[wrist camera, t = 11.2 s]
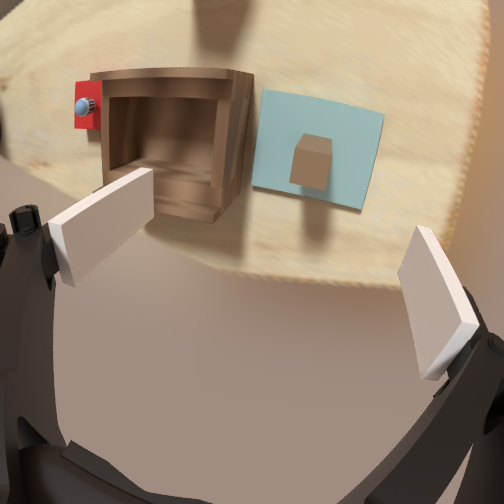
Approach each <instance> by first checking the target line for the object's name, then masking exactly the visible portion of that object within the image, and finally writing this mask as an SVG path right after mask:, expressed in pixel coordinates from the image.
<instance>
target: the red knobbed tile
mask: <svg viewBox="0 0 504 504" xmlns="http://www.w3.org/2000/svg"><path fill="white" fill-rule="evenodd" d="M101 93H102V80H101V81H91V82H90V80H88V81H79V82H76V85H75V128H77V129H98V130H101Z"/></svg>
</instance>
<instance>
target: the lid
mask: <svg viewBox="0 0 504 504" xmlns="http://www.w3.org/2000/svg"><path fill="white" fill-rule="evenodd" d="M384 115H385V114H382V113H378V112H375V111H371V110H367V109H364V108H360V107H356V106H352V105H348V104H343V103H339V102H334V101H330V100H325V99H320V98H315V97H310V96H304V95H299V94H293V93H287V92H280V91H273V90H266V89H263V94H262V101H261V109H260V117H259V124H258V132H257V140H256V148H255V156H254V164H253V172H252V180H251V185H253V186H258V187H263V188H268V189H273V190H278V191H283V192H288V193H292V194H297V195H302V196H306V197H311V198H315V199H319V200H324V201H328V202H332V203H336V204H341V205H345V206H349V207H353V208H357V209H361V210H362V206H363V202H364V199H365V195H366V191H367V188H368V184H369V180H370V176H371V172H372V168H373V164H374V160H375V156H376V152H377V147H378V143H379V138H380V134H381V129H382V124H383V120H384Z"/></svg>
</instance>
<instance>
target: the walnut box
mask: <svg viewBox="0 0 504 504" xmlns="http://www.w3.org/2000/svg"><path fill="white" fill-rule="evenodd" d="M253 75H254V74H250V73H245V72H240V71H235V70H230V69H219V68H188V67H175V68H143V69H128V70H116V71H107V72H98V73H90V82H91V81H101V80H102V93H101V151H102V172H103V186H102V187H100V188H99V189H97V190H95V191H93V193H95V192H96V191H98V190H100V189H102V188H103V187H105V186H107V185H109V184H111V183H112V182H114V181H116V180H118V179H120V178H122V177H123V176H125V175H127V174H129V173H131V172H133V171H135V170H137V169H139V168H141V167H142V168H149V169H153V200H154V211H155V212H160V213H165V214H170V215H174V216H179V217H184V218H189V219H193V220H198V221H203V222H207V223H212V224H213V223H214V222H215V221H216V220H217V219H218V217H219V216H220V215H221V214H222V213H223V211H224V210H225V209H226V208H227V207H228V206H229V204H230V203H231V202H232V201H233V200H234V199H235V198H236V196H237V195H238V194H239V192H240V183H241V174H242V165H243V156H244V148H245V139H246V131H247V122H248V114H249V106H250V98H251V90H252V82H253Z"/></svg>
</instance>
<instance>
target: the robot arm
mask: <svg viewBox="0 0 504 504" xmlns="http://www.w3.org/2000/svg"><path fill="white" fill-rule="evenodd" d="M0 136H1V132H0ZM9 217H10V221H11V226H12V230H13V235H9V234H7V232H6V228H5V225H4V224H2V223H0V504H212V503H208V502H205V501H202V500H199V499H191V498H182V497H175V496H168V495H161V494H155V493H150V492H146V491H144V490H143V489H141V488H140V487H138V486H137V485H136V484H134V483H133V482H132V481H130V480H129V479H128V478H127V477H125V476H124V475H123V474H122V473H121V472H119V471H118V470H117V469H116V468H115V467H113V466H112V465H111V464H110V463H109V462H108V461H106V460H104V459H102V458H101V457H99V456H97V455H95V454H94V453H92V452H90V451H88V450H87V449H85V448H83V447H82V446H80V445H78V444H77V443H75V442H73V441H72V440H71V441H70V443H69V444H68V446H66V443H65V440H64V438H63V436H62V434H61V431H60V429H59V426H58V421H57V414H56V403H55V390H54V372H53V318H54V300H55V288H56V281H55V277H54V274H56V273H57V272H58V271H60V274H61V278H62V281H63V283H66V284H68V285H70V286H72V287H75V288H76V287H77V286H78V285H79V284H80V283H81V282H82V281H83V280H84V279H85V278H86V277H87V276H88V275H89V274H90V273H91V272H93V271H94V269H96V268H97V267H98V266H99V265H100V264H101V263H102V262H103V261H104V260H105V259H107V258H108V257H109V256H110V255H111V254H112V253H113V252H114V251H115V250H117V249H118V248H119V247H120V246H121V245H122V244H123V243H125V241H127V240H128V239H129V238H130V237H131V236H133V235H134V234H135V233H136V232H137V231H138V230H140V229H141V228H142V227H143V226H144V225H145V224H147V223H148V222H149V221H150V220H151V219H153V218H154V200H153V169H149V168H142V167H141V168H139V169H137V170H135V171H133V172H131V173H129V174H127V175H125V176H123V177H122V178H120V179H118V180H116V181H114V182H112V183H111V184H109V185H107V186H105V187H103V188H102V189H100V190H98V191H96V192H95V193H93V194H91V195H90V196H88V197H86V198H84V199H83V200H81V201H79V202H78V203H76V204H75V205H73V206H71V207H70V208H68V209H67V210H65V211H63V212H62V213H60V214H59V215H57V216H56V217H54V218H53V219H51V220H49V221H48V223H46V224H45V225H43V226H41V221H40V216H39V211H38V207H37V206H36V205H25V206H22V207H19V208H17V209H15V210H14V211H12V212H11V213H10V214H9ZM398 276H399V280H400V284H401V287H402V291H403V295H404V299H405V303H406V307H407V311H408V316H409V320H410V325H411V329H412V334H413V338H414V344H415V349H416V354H417V359H418V366H419V371H420V378H421V379H427V380H436V381H437V380H439V379H440V377H441V376H442V375H443V374H444V373H445V371H446V370H447V372H448V377H449V379H448V380H447V381H446V382H445V383H444V385H443V386H442V387H441V388H440V389H439V390H438V392H436V394H435V395H434V396H433V397H434V399H433V401H432V402H431V403H430V404H429V406H428V407H427V409H426V410H425V411H424V412H423V414H422V415H421V416H420V418H419V419H418V420H417V422H416V423H415V424H414V425H413V426H412V428H411V429H410V430H409V431H408V433H407V434H406V435H405V436H404V437H403V439H402V440H401V441H400V442H399V443H398V444H397V446H396V447H395V448H394V449H393V450H392V451H391V452H390V453H389V455H387V456H386V458H385V459H384V460H383V461H382V462H381V463H380V464H379V465H378V466H377V467H376V468H375V469H374V470H373V471H372V472H371V473H370V474H369V475H368V476H367V477H366V478H365V479H364V480H363V481H362V482H361V483H360V484H359V485H358V486H356V487H355V488H354V489H353V490H352V491H351V492H350V493H349V494H348V495H347V496H345V497H344V498H343V499H342V500H341V501H340V502H338V503H337V504H435V503H436V502H437V500H438V499H439V498H440V496H441V495H442V493H443V492H444V490H445V489H446V488H447V486H448V485H449V483H450V482H451V480H452V478H453V477H454V475H455V474H456V472H457V470H458V469H459V467H460V465H461V464H462V462H463V460H464V458H465V457H466V455H467V453H468V451H469V450H470V448H471V446H472V444H473V447H472V450H471V454H470V458H469V461H468V464H467V467H466V471H465V473H464V477H463V480H462V482H461V485H460V488H459V491H458V493H457V496H456V499H455V501H454V504H504V341H503V340H502V339H501V338H500V337H499V336H497V335H495V334H494V333H490V332H488V329H487V327H486V325H485V323H484V320H483V318H482V316H481V313H480V312H479V309H478V307H477V305H476V303H475V301H474V299H473V297H472V295H471V294H470V293H469V291H468V290H467V289H466V288H465V287H464V286H461V284H460V282H459V280H458V278H457V276H456V274H455V272H454V270H453V268H452V266H451V264H450V262H449V261H448V259H447V257H446V255H445V253H444V252H443V250H442V248H441V246H440V245H439V243H438V241H437V239H436V238H435V236H434V234H433V233H432V231H431V229H429V228H425V227H422V226H419V225H416V228H415V231H414V234H413V236H412V239H411V241H410V244H409V247H408V249H407V252H406V254H405V256H404V259H403V261H402V264H401V266H400V268H399V271H398ZM473 442H474V443H473Z"/></svg>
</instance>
